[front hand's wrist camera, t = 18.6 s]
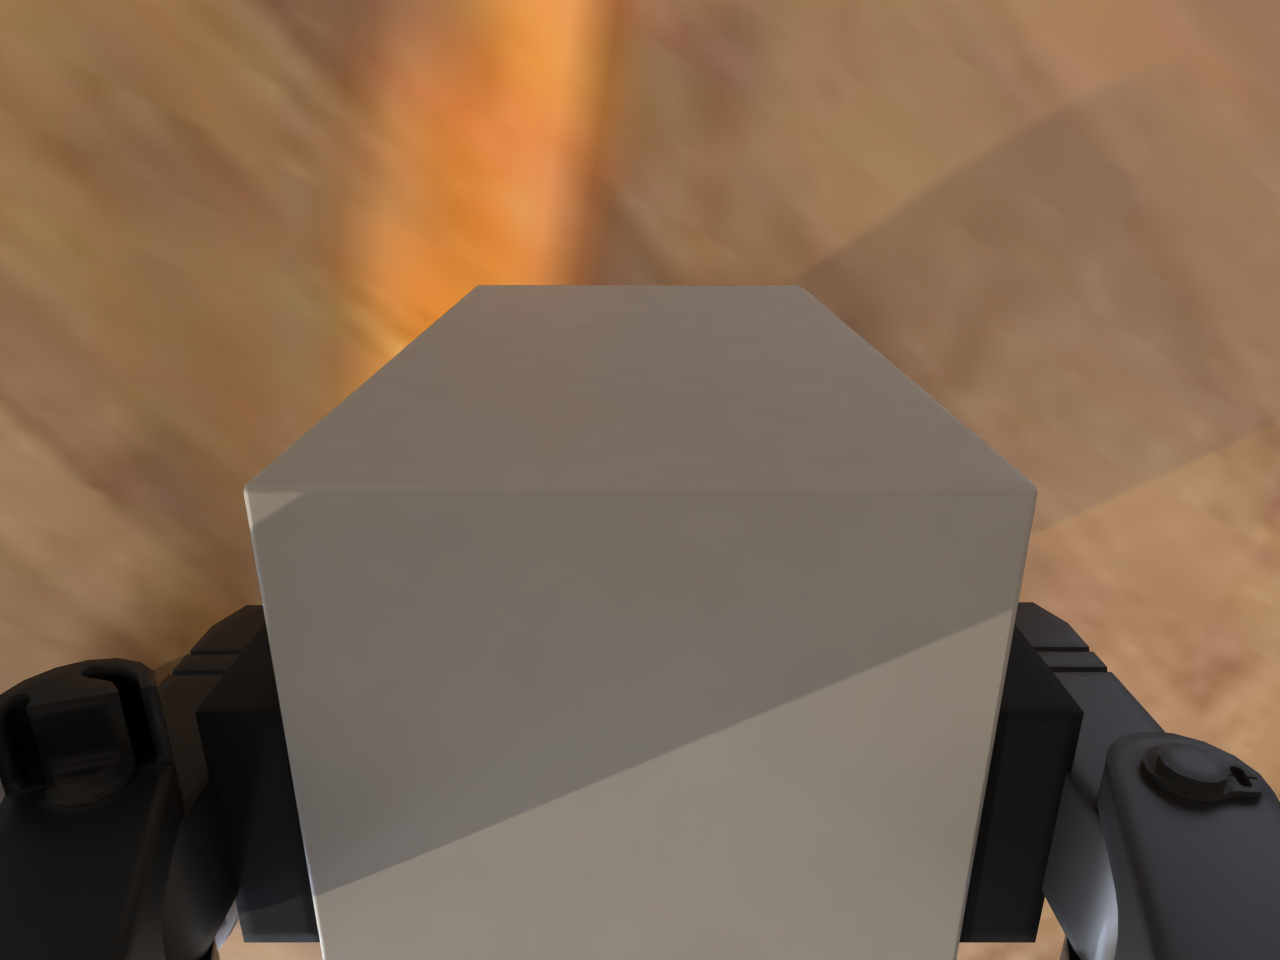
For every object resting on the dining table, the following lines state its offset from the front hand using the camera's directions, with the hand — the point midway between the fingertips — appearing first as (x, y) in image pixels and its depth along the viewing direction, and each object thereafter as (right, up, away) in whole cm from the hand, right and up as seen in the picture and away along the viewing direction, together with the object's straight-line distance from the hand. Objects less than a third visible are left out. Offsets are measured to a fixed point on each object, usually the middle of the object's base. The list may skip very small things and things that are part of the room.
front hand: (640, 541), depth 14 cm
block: (0, +2, +4) cm, 4 cm away
